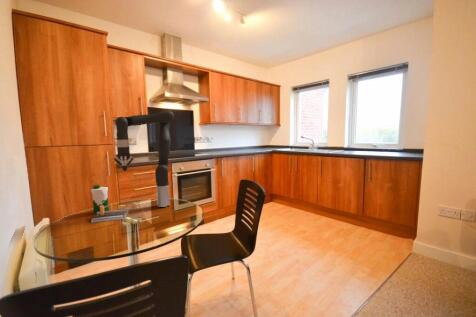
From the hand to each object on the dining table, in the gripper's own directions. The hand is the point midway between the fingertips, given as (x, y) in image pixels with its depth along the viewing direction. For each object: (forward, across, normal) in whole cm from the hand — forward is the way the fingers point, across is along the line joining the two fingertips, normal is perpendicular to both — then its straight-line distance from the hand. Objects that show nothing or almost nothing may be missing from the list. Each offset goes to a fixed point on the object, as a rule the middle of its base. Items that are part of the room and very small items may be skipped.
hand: (125, 170), depth 150 cm
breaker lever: (+29, +15, +3) cm, 33 cm away
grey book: (+30, +11, +3) cm, 32 cm away
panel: (+31, +10, +3) cm, 33 cm away
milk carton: (+32, +20, -10) cm, 38 cm away
